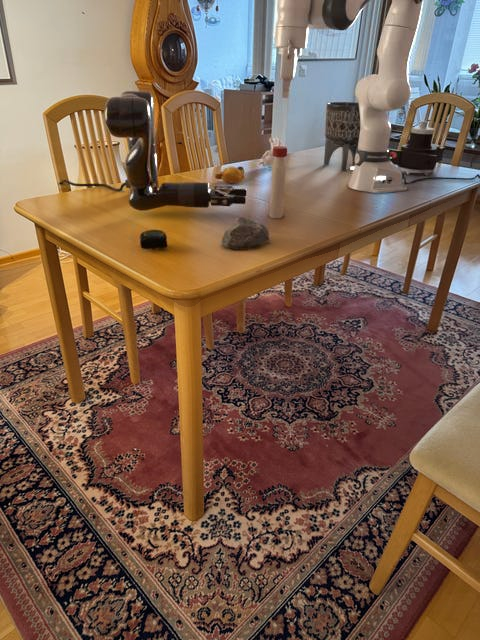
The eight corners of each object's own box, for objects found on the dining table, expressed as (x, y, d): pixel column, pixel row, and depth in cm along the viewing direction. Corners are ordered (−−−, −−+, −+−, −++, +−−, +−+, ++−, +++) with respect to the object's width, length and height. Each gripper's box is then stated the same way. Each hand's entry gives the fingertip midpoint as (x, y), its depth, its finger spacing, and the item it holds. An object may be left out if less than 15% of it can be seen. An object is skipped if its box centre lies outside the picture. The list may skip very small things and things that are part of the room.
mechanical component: (390, 120, 192) (418, 115, 212) (381, 171, 203) (408, 162, 223) (441, 125, 180) (466, 119, 200) (429, 179, 191) (453, 169, 211)
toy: (212, 175, 175) (219, 166, 187) (218, 191, 178) (224, 181, 190) (239, 166, 171) (244, 157, 184) (245, 182, 174) (249, 173, 187)
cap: (289, 156, 134) (290, 147, 133) (278, 157, 132) (279, 149, 131) (280, 154, 137) (281, 145, 136) (269, 155, 135) (270, 146, 133)
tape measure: (140, 252, 115) (139, 238, 113) (141, 242, 120) (140, 229, 119) (167, 251, 116) (166, 237, 114) (167, 241, 121) (166, 228, 120)
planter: (313, 167, 208) (319, 103, 195) (331, 160, 222) (338, 101, 209) (353, 173, 199) (362, 107, 185) (369, 166, 213) (379, 104, 199)
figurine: (286, 165, 210) (288, 136, 203) (269, 171, 199) (270, 140, 193) (271, 163, 214) (272, 134, 207) (253, 168, 203) (254, 138, 196)
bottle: (285, 217, 143) (290, 149, 133) (275, 219, 141) (279, 150, 131) (276, 213, 146) (281, 147, 136) (266, 215, 144) (270, 148, 134)
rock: (255, 233, 128) (256, 211, 124) (276, 242, 122) (278, 219, 119) (217, 244, 120) (217, 220, 117) (239, 254, 115) (239, 230, 111)
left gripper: (190, 188, 133) (245, 190, 132) (196, 177, 145) (246, 178, 145) (191, 213, 137) (245, 215, 136) (196, 200, 149) (246, 202, 148)
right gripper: (302, 39, 115) (296, 100, 121) (301, 42, 132) (296, 95, 139) (277, 38, 115) (273, 98, 122) (280, 41, 133) (276, 94, 140)
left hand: (245, 196), depth 140 cm, fingers open, 8 cm apart
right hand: (285, 96), depth 131 cm, fingers open, 8 cm apart
